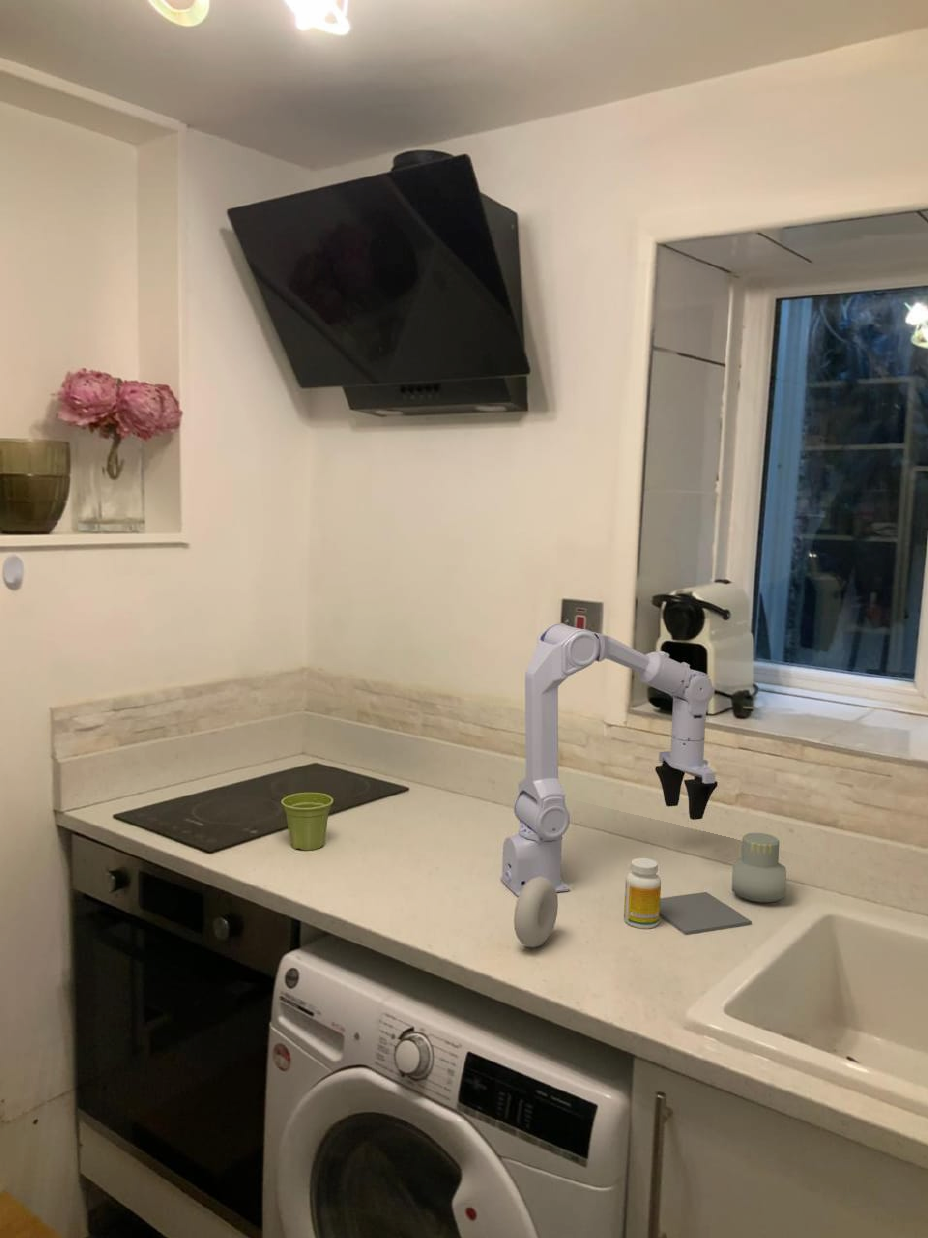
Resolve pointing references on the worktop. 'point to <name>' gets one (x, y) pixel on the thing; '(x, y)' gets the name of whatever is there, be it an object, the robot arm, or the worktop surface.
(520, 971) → the worktop surface
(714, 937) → the worktop surface
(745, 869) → the air freshener
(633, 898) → the supplement bottle
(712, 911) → the mat
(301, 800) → the plant pot
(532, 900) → the donut
